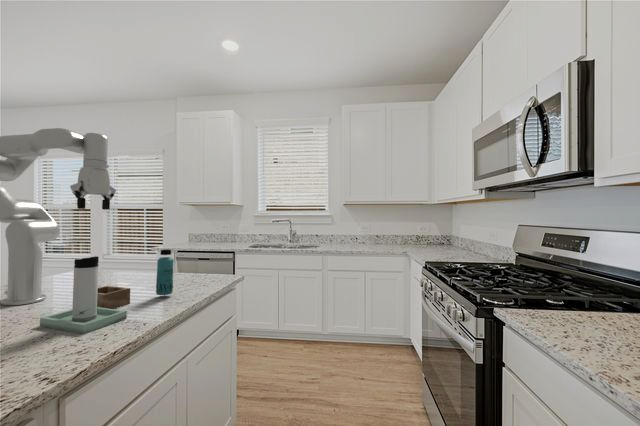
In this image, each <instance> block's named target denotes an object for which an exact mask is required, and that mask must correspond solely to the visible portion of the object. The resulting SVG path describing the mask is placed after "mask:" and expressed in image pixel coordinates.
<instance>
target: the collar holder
mask: <svg viewBox="0 0 640 426" xmlns="http://www.w3.org/2000/svg"><path fill="white" fill-rule="evenodd" d="M130 304H131V288H130V287H122V286H114V285H113V286H111V285H106V286H101V287H98V294H97V307H101V308H108V309H114V308H115V309H117V307H118V308H121V307H123V306H124V305H125V306H127V305H130ZM120 306H121V307H120ZM125 306H124V307H125Z"/></svg>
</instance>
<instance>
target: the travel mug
mask: <svg viewBox="0 0 640 426" xmlns="http://www.w3.org/2000/svg"><path fill="white" fill-rule="evenodd" d="M99 259H100V258H99V256H96V255H95V256H90V257H83V258H80V259H79V258H75V259H74V266H73V267H74V268H73V285H72V286H73V287H72V290H73V291H72V309H71V310H72V321H74V322H84V321H89V320H93V319H95V318H96V317H97V294H98V288H99V286H98V285H99V262H100V261H99Z"/></svg>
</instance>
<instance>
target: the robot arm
mask: <svg viewBox="0 0 640 426" xmlns="http://www.w3.org/2000/svg"><path fill="white" fill-rule="evenodd" d="M108 141H109V140H108V137H107V136H106V135H104V134H101V133H96V132H86V133H85V134H82V133H78V132H76V131H72V130H70V129H66V128H61V127H60V128H59V127H58V128H57V127H56V128H55V127H54V128H53V127H52V128H42V129H39V130H36V131H35V132H33V133H29V134H28V133H27V134H25V133H24V134H11V135H1V136H0V157H3V158H6V159H5V160H4V159H0V181H1V182H12V181H16V180H17V179H19V177H20V176H21V175H23V174H24V173H25V171H27V170H28V168H30V166H32V164H33V163H34V162H35V161H36V160H37V158H38V157H43V156H46V155H47V154H48V152H49V150H51V149H52V150H53V149H61V150H66V151H68V152H72V153H76V154H80V155H81V154H82V155H83V158H82V159H83V160H82V162H83V163H82V164H83V165H82V167H80V169H79V173H78V176H77V182H75V183H74V184H71V185H70V186H69V187H70V189H71V191H72V192H71V193H72V194H73V195H74V196H75V198H76V200H77V201H76V206H77V209H78V210H85V209H86V195H94V196H95V195H98V196H101V197H102V198H103V199H102V201H101V202H102V204H101V205H102V206H101V209H102V210H110V208H111V206H110V205H111V200H112V198H114V196H115V195H116V194H115V193H116V192H117V189H115V188H114V187H113V186H111V182H110V174H109V173H110V172H109V170H108V169H109V167H110V165H109V164H108V144H109V143H108ZM0 223H3V224H8V225H7V226H6V229H5V231H4V232H5V239H6V244H7V252H8V253H7V254H8V255H7V257H8V259H7V261H8V262H7V266H8V267H7V290H6V291H5V292H4V294H5V295H6V296H7V297H6V298H4V299H2V300H0V301H1V302H0V304H1V305H3V306H19V305H20V306H22V305H28V304H33V303H34V304H35V303H38V302H41V301H44V300H46V299H47V295H46V294H43V293H42V279H43V275H42V274H43V252H42V248H41V247H40V245H39V244H42V243H50V242H53V241H54V240H56V239H58V237H59V236H60V233H61V232H60V231H61V230H60V225H59V223H57V221H56V220H55V219H54V218H53V217H52V216H51V215H50V213H49V212H47V210H46V209H45V208H44V207H43V206H42V205H41V204H40V203H38V202H36V201H34V200H30V199H19V198H15V196H12V194H11V193H9V192H8V190H7V189H6V188H5V187H4V186H2V185H1V184H0Z"/></svg>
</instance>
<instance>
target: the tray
mask: <svg viewBox="0 0 640 426" xmlns="http://www.w3.org/2000/svg"><path fill="white" fill-rule="evenodd" d="M127 316H128V315H127V310H123V309H122V310H120V309H116V308H115V309H108V308H101V307H97V317H96V318H95V319H93V320H89V321H84V322H74V321H72V309H69V310H64V311H61V312H57V313H54V314H50V315H46V316H43V317H40V318H39V327H43V328H49V329H54V330H61V331H64V332H65V331H66V332H71V333H77V334H81V335H85V334H87V333H89V332H93V331H96V330H99V329H100V328H103V327H106V326H110V325H113V324H116V323H118V322H120V321H123V320H126V319H127Z"/></svg>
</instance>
